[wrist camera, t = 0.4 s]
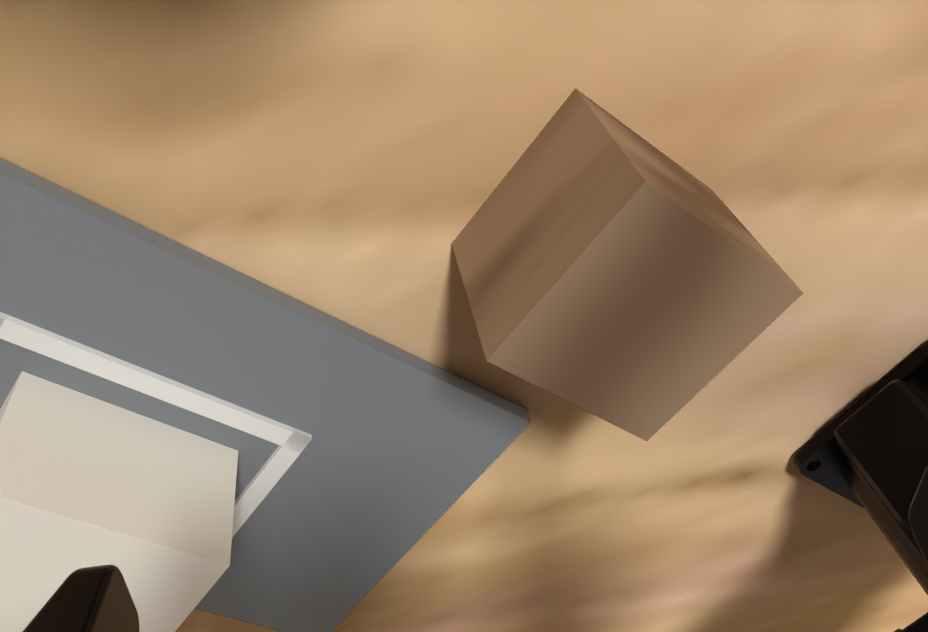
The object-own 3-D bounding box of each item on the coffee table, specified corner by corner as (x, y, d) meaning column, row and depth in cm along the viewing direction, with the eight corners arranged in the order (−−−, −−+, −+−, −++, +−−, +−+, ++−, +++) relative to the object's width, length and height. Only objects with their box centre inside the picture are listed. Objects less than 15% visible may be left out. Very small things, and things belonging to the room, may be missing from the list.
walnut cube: (710, 188, 22) (803, 293, 18) (587, 320, 24) (647, 441, 20) (574, 87, 20) (645, 181, 16) (451, 241, 22) (486, 360, 18)
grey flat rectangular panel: (526, 409, 25) (532, 427, 25) (313, 634, 30) (313, 654, 30) (-25, 145, 18) (-36, 161, 17) (-190, 499, 23) (-204, 522, 22)
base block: (238, 450, 24) (229, 565, 20) (145, 572, 26) (124, 693, 23) (21, 371, 21) (-28, 488, 18) (-61, 515, 23) (-118, 643, 20)
